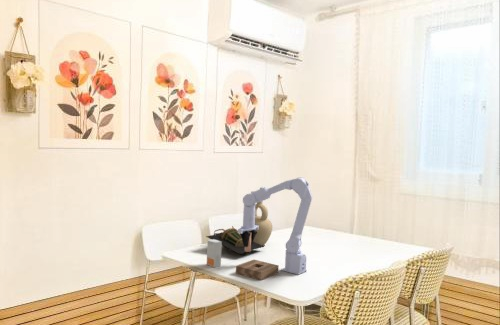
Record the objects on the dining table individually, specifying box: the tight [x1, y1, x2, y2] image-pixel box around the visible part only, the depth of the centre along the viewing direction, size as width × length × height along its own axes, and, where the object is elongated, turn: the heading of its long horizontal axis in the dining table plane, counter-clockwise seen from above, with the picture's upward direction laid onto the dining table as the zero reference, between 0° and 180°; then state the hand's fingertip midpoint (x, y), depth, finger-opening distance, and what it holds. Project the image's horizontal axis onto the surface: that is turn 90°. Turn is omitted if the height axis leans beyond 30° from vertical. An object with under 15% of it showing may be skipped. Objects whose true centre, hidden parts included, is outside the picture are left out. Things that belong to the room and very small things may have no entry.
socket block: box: [235, 259, 279, 281], centre depth 181 cm, size 14×14×4 cm
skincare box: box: [206, 239, 223, 268], centre depth 190 cm, size 6×4×12 cm
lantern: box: [205, 225, 265, 255], centre depth 220 cm, size 14×23×30 cm
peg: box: [245, 232, 252, 253], centre depth 193 cm, size 3×3×9 cm
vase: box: [253, 201, 273, 246], centre depth 235 cm, size 17×17×30 cm
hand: (247, 246), depth 193 cm, fingers closed on peg, 3 cm apart
